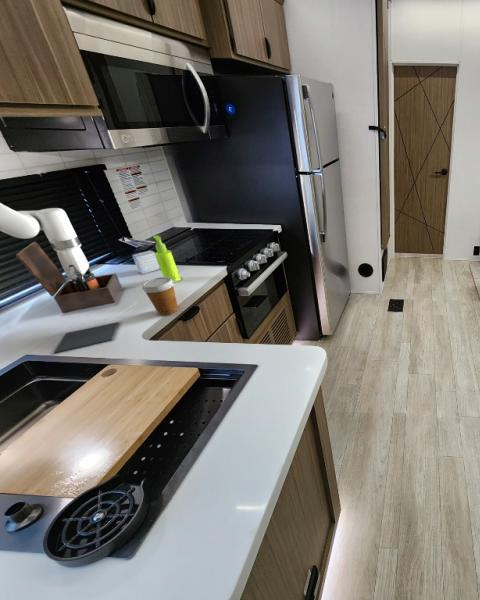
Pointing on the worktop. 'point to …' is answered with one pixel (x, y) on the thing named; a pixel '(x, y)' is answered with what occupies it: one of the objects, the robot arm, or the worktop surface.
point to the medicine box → (146, 261)
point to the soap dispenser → (166, 261)
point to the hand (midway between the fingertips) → (88, 286)
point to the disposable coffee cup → (161, 294)
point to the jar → (90, 281)
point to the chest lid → (42, 268)
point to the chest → (88, 294)
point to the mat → (87, 337)
